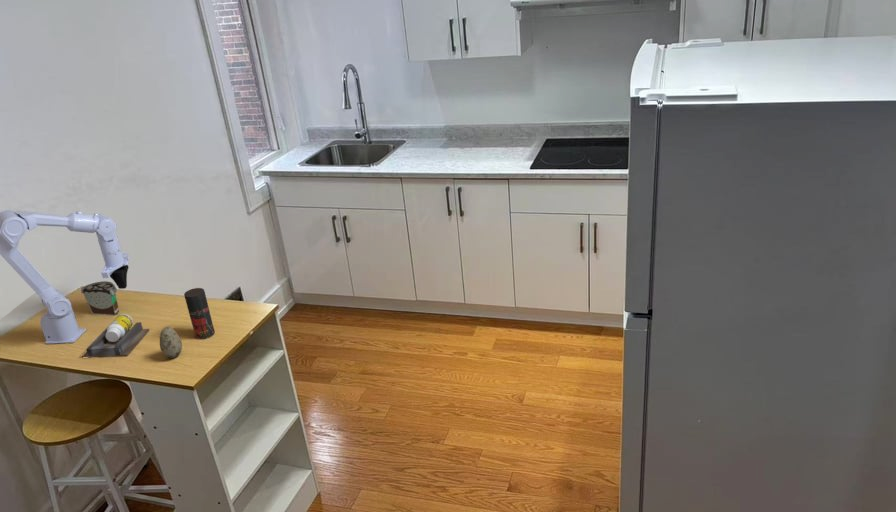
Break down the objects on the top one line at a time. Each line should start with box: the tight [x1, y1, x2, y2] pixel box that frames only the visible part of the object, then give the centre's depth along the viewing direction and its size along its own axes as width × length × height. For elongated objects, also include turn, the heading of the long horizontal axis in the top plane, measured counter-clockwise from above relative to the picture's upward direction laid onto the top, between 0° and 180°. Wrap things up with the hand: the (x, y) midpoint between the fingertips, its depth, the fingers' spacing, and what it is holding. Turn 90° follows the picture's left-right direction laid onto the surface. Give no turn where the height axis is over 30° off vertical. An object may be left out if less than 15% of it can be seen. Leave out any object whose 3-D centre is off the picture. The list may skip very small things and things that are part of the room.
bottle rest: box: [82, 322, 150, 358], centre depth 206 cm, size 14×15×3 cm
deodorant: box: [183, 287, 216, 340], centre depth 205 cm, size 6×6×15 cm
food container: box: [80, 280, 120, 316], centre depth 226 cm, size 12×6×10 cm, turn 77°
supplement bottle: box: [105, 313, 134, 342], centre depth 209 cm, size 5×5×10 cm
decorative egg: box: [159, 326, 183, 358], centre depth 196 cm, size 6×6×10 cm
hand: (123, 287), depth 221 cm, fingers closed
